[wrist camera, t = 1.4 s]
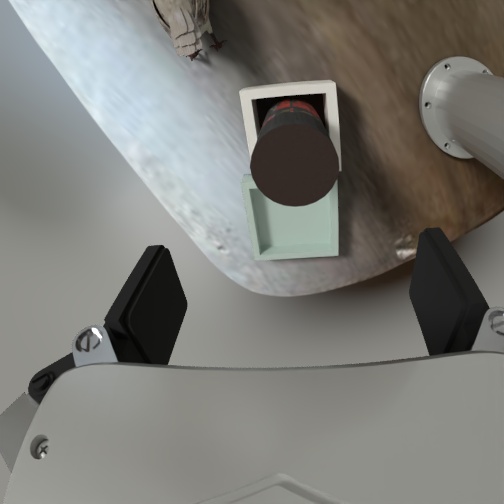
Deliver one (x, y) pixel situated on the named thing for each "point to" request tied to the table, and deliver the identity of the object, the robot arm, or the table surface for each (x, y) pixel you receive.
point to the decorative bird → (185, 24)
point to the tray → (290, 225)
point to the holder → (286, 89)
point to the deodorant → (294, 155)
